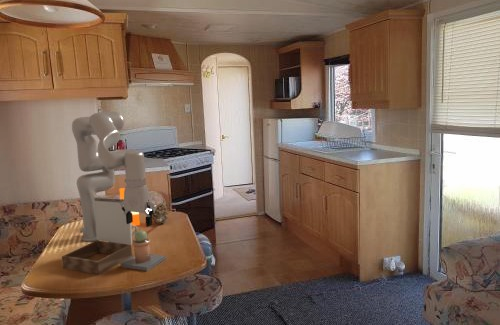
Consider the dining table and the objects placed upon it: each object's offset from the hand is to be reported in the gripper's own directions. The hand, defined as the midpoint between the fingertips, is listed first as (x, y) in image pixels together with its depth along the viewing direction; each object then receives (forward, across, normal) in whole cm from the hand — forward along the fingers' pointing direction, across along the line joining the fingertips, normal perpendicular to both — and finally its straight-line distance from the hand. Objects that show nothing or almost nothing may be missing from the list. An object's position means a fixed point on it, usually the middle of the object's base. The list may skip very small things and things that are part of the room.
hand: (139, 224), depth 164 cm
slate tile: (+16, +1, 0) cm, 16 cm away
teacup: (+17, -23, +16) cm, 33 cm away
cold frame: (+17, -18, -5) cm, 25 cm away
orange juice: (+18, -40, +42) cm, 60 cm away
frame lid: (+2, -19, +5) cm, 19 cm away
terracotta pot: (+15, +1, 0) cm, 15 cm away
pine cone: (+17, -24, +45) cm, 54 cm away
